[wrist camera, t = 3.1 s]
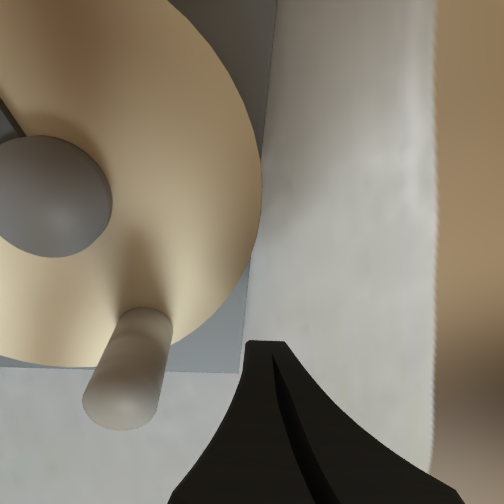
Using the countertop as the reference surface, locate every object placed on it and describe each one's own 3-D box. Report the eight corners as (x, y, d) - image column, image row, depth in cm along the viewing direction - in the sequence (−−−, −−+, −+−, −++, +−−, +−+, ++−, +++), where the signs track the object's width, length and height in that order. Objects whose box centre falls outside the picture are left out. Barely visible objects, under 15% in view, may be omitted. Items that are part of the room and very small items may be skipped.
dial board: (-75, 342, 16) (-133, 388, 14) (-203, -124, 11) (-348, -201, 8) (237, 352, 18) (239, 396, 15) (277, -51, 12) (293, -95, 9)
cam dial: (-89, 337, 14) (-236, 447, 10) (-209, -79, 10) (-607, -249, 5) (241, 348, 16) (249, 450, 11) (279, -11, 11) (320, -95, 6)
